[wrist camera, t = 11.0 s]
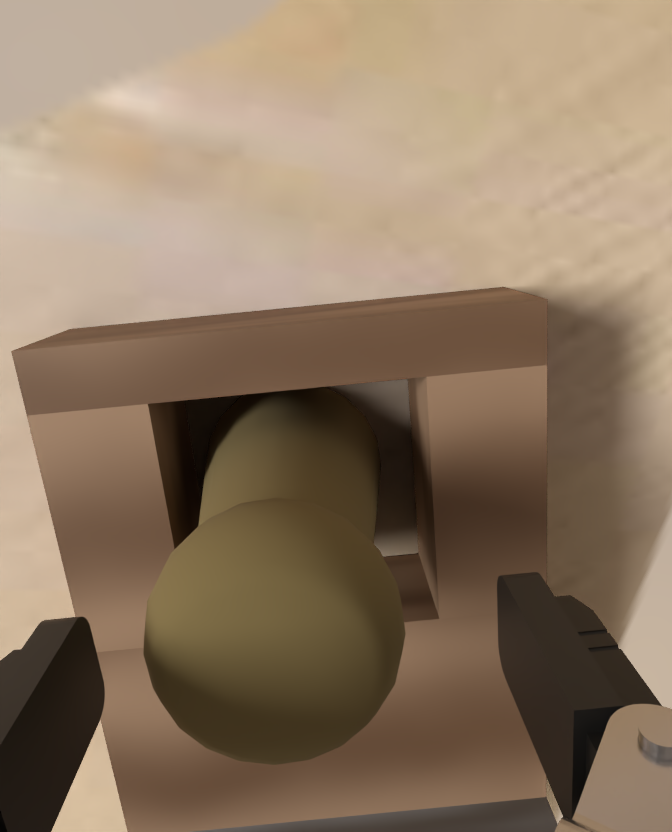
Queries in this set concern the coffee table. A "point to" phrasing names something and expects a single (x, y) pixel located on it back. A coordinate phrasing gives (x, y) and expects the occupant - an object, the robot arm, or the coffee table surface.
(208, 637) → the cork
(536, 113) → the coffee table surface
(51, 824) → the robot arm
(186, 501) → the socket stand
